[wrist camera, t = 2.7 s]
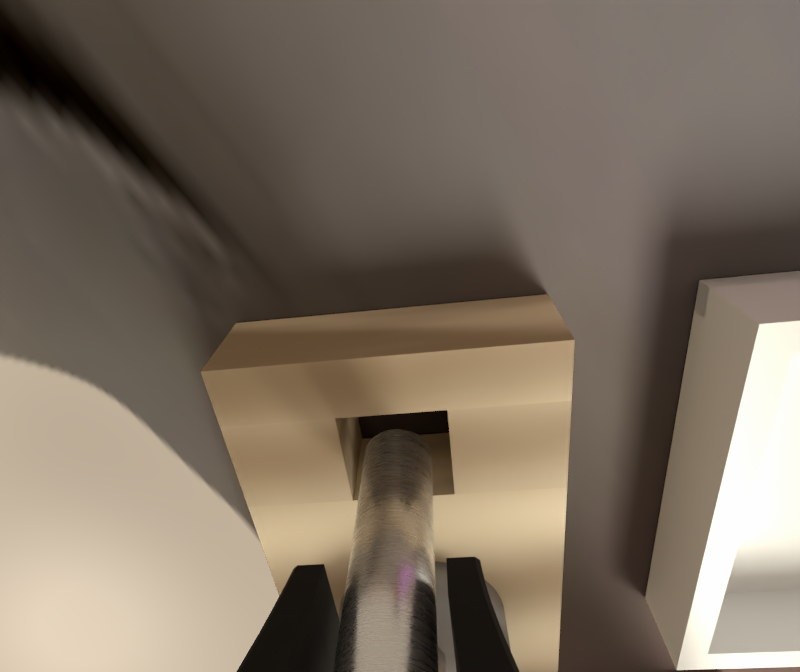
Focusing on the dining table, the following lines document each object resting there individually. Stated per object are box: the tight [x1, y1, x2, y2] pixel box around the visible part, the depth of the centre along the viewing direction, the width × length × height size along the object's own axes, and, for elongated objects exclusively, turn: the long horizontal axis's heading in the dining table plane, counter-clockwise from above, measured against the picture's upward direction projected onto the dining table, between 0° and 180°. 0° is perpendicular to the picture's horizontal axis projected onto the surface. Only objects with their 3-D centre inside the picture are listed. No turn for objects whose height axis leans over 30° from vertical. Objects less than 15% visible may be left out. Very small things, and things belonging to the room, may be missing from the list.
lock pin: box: [333, 429, 438, 672], centre depth 11 cm, size 3×3×8 cm
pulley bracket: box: [200, 294, 575, 672], centre depth 17 cm, size 15×10×6 cm, turn 7°
